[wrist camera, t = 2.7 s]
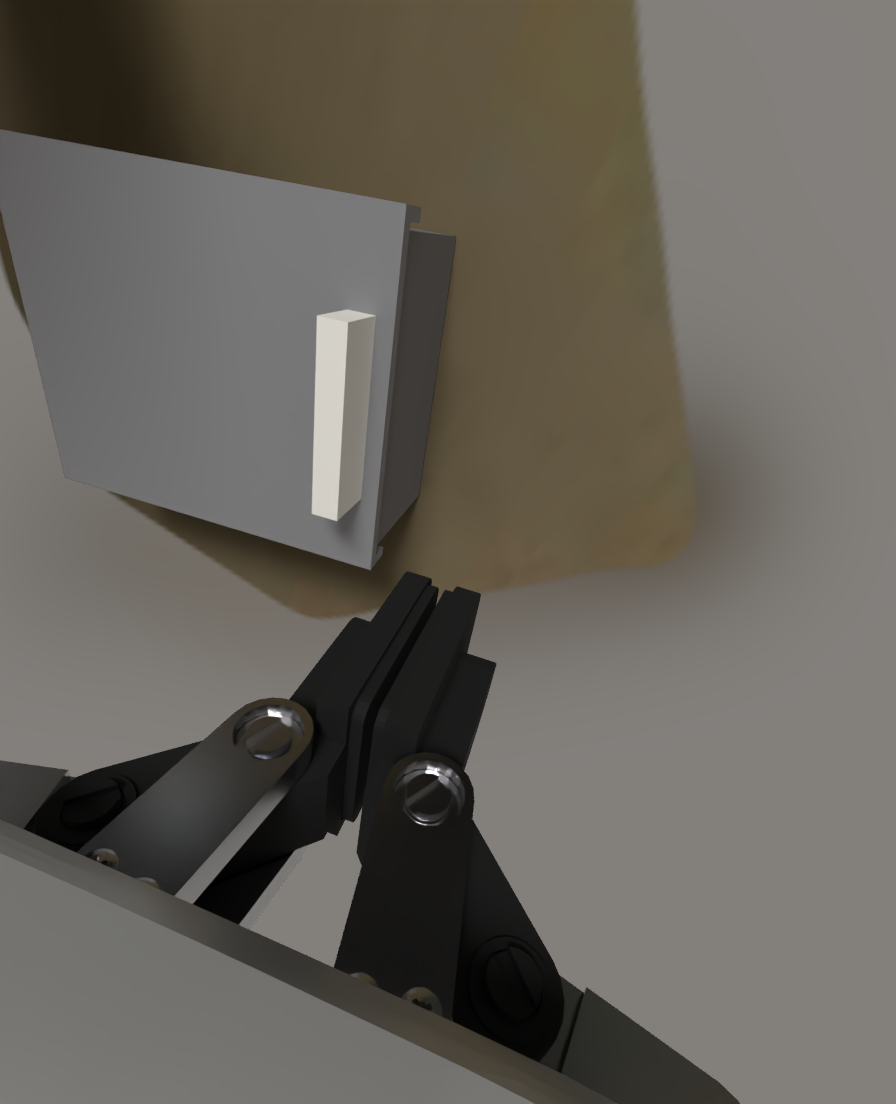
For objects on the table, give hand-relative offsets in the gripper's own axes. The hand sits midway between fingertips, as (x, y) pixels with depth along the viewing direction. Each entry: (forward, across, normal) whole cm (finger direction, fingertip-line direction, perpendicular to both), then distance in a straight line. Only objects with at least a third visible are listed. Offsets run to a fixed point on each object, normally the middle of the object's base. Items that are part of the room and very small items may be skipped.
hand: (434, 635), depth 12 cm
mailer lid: (+13, +15, 0) cm, 20 cm away
